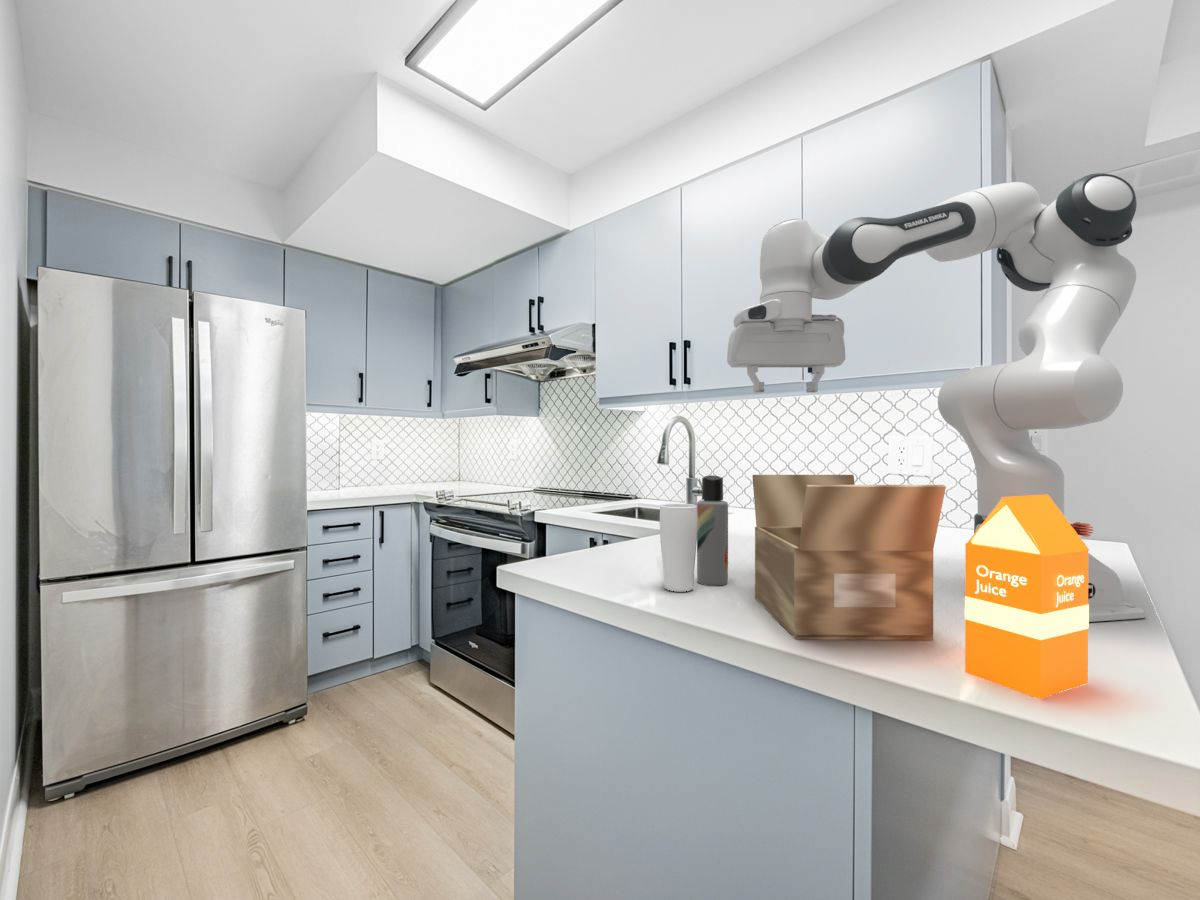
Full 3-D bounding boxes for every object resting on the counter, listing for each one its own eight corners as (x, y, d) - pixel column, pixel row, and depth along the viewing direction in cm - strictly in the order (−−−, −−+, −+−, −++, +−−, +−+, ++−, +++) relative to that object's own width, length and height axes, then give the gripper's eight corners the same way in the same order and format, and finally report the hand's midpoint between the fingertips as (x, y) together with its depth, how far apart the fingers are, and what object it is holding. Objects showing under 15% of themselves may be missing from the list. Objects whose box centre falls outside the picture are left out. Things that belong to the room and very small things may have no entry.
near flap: (943, 484, 70) (946, 486, 70) (930, 548, 73) (932, 550, 72) (806, 484, 70) (808, 486, 70) (798, 548, 73) (800, 550, 72)
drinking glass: (674, 582, 104) (674, 502, 104) (705, 589, 99) (705, 505, 99) (651, 589, 99) (651, 505, 99) (683, 596, 94) (683, 508, 94)
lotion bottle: (725, 579, 107) (726, 475, 107) (729, 586, 101) (729, 476, 101) (696, 578, 107) (696, 475, 107) (698, 585, 102) (698, 476, 102)
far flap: (860, 526, 93) (858, 527, 93) (853, 474, 95) (852, 475, 96) (757, 526, 93) (756, 527, 94) (753, 474, 96) (752, 475, 96)
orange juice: (963, 671, 63) (963, 494, 63) (1011, 659, 66) (1011, 492, 66) (1042, 700, 56) (1043, 500, 55) (1090, 684, 59) (1091, 497, 59)
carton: (862, 598, 93) (862, 526, 93) (933, 640, 73) (933, 548, 73) (754, 598, 93) (754, 526, 93) (796, 639, 73) (796, 548, 73)
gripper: (836, 318, 102) (836, 394, 102) (725, 318, 102) (724, 394, 102) (852, 310, 96) (851, 390, 96) (732, 310, 96) (732, 390, 96)
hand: (785, 392), depth 99 cm, fingers open, 8 cm apart
